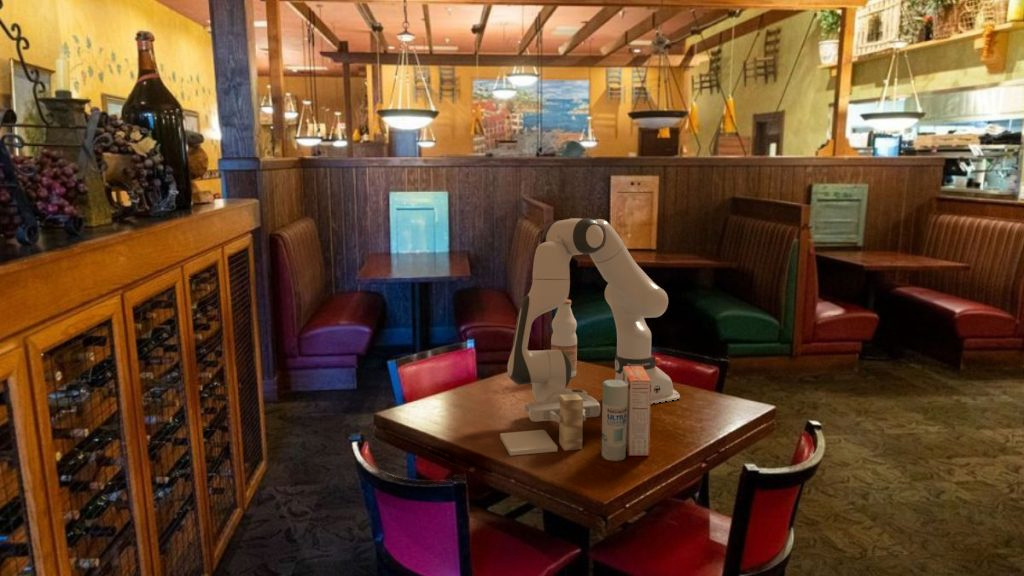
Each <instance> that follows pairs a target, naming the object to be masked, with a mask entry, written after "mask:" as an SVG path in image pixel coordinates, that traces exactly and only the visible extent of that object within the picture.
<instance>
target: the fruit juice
mask: <svg viewBox="0 0 1024 576" xmlns="http://www.w3.org/2000/svg"><path fill="white" fill-rule="evenodd" d="M571 305H572V300H571V299H568V298H567V299H566V300H565V302H564V303H563V304H562V305H560V306H559V307H557V310H556V312H555V315H554V318H553V319H552V322H551V329H552V334H551V340H550V346H551V347H550V350H561V351H563V352H564V353H565V354H566V356H567V357H568V359H569V361H570V364H571V378H575V377H576V375H577V370H578V369H577V367H578V366H577V364H578V363H577V362H578V361H577V360H578V359H577V358H578V357H577V356H578V336H577V334H576V331H577V327H578V324H577V320H576V318H575V316H574V314H573V310H572V308H571ZM571 378H570V379H571Z"/></svg>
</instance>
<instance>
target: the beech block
mask: <svg viewBox="0 0 1024 576" xmlns="http://www.w3.org/2000/svg"><path fill="white" fill-rule="evenodd" d="M559 415H562V416H563V423H558V426H559V427H558V429H559V430H558V432H559V433H558V443H559V446H560V447H561V448H562V449H563V451H565V452H566V451H574V450H575V451H576V450H583V433H584V432H583V431H584V430H583V425H584V424H583V422H584V421H583V399H582V398H581V397H580V396H579V395H578V394H565V395H560V413H559Z"/></svg>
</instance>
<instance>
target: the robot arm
mask: <svg viewBox="0 0 1024 576" xmlns="http://www.w3.org/2000/svg"><path fill="white" fill-rule="evenodd" d="M540 243H541V244H539V245H538V246H537V248H536V249H535V253H534V257H533V258H534V259H533V267H532V284H531V287H530V290H529V292H528V293H527V295H526V296H524V297H523V298H522V299H521V301H520V304H519V308H518V312H517V317H516V323H515V329H514V335H513V340H512V346H511V350H510V355H509V358H508V361H507V375H508V377H509V379H510V380H511V381H512V382H513V383H515V384H516V385H518V386H524V385H525V386H526V385H530V384H532V385H531V391H532V396H533V397H534V400H533V401H530V402H528V403H527V405H526V404H525V405H524V406H523V409H524V411H526V412H528V417H529V419H530V421H531V422H547V421H548V422H549V421H553V422H556V423H557V424H559V423H563V416H562V415H559V413H560V395H565V394H578V395H579V396H580V397H581V398H582V399H583V422H585V421H586V419H587V418H598V417H599V416H600V415H601V403H599V401H598V400H597V399H596V398H594V397H593V396H591V395H588V392H587V391H586V390H583V389H582V390H581V389H571V388H568V386H569V383H570V381H571V364H570V361H569V359H568V357H567V356H566V354H565V353H564V352H563V351H561V350H551V349H545V350H529V349H528V347H529V339H530V337H531V335H530V333H531V329H532V325H533V323H534V321H535V320H536V319H537V318H538V317H539V316H542V315H544V314H546V313H548V312H550V311H552V310H555V309H558V307H559V306H560V305H562V304H563V303H564V302H565V300H566V299H568V297H569V294H570V287H571V286H570V285H571V279H570V278H571V276H570V275H571V274H570V272H571V269H570V262H571V260H572V257H573V256H576V255H578V256H579V255H589V257H590V259H591V261H592V262H593V263H594V265H595V267H596V268H597V270H598V272H599V273H600V275H601V277H602V278H603V280H604V281H605V282H606V283H607V284H606V287H605V289H604V299H605V301H606V303H607V305H609V307H610V309H611V312H612V315H613V319H614V324H615V329H616V339H617V340H616V354H615V359H614V370H615V377H614V380H622V381H623V366H643V368H644V370H645V372H646V373H647V375H648V377H649V379H650V381H651V402H650V405H654V404H653V403H655V404H660V403H659V402H661V403H666V402H665V401H667V402H673V401H672V400H674V401H678V400H677V399H679V398H680V399H681V395H680V393H679V392H678V391H677V390H676V389H674V385H673V382H672V381H673V380H672V379H671V377H670V376H669V375H668V374H666V373H665V372H664V371H663V370H662V369H660V368H659V367H657V366H656V365H658V366H659V365H661V364H662V359H661V358H660V357H655V356H654V355H652V331H651V330H650V328H649V326H648V325H647V323H646V320H645V319H647V318H648V319H649V318H650V319H651V318H658V317H661V316H662V315H663V314H664V313H665V312H666V311H667V309H668V305H669V297H668V294H667V292H666V291H665V290H664V289H663V288H661V286H659V285H657V283H655V282H654V281H653V279H651V278H650V277H649V276H648V275H647V273H645V271H644V270H643V269H642V268H641V267H640V265H638V264H637V262H636V261H635V260H634V258H633V257H632V255H631V253H630V252H629V250H628V248H627V247H626V245H625V243H624V241H623V240H622V239H621V237H620V235H619V234H618V233H617V231H616V230H615V228H614V227H613V226H612V225H611V224H610V223H609V222H608V221H607V220H605V219H601V218H598V219H593V218H587V217H586V218H581V217H580V218H577V217H576V218H575V217H573V218H571V217H570V218H569V219H568V218H567V219H563V220H562V219H561V220H554V221H552V222H550V223H548V224H547V225H546V226H545V228H544V230H543V232H542V236H541V242H540ZM680 399H679V400H680Z"/></svg>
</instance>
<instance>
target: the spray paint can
mask: <svg viewBox="0 0 1024 576" xmlns="http://www.w3.org/2000/svg"><path fill="white" fill-rule="evenodd" d="M627 400H628V383H627V382H625V381H622V380H615V379H607V380H604V381H603V382H602V400H601V401H602V403H601V404H602V405H601V406H602V410H601V411H602V412H601V457H602V458H603V459H604V460H607V461H613V462H619V461H622V460H625V459H626V456H627V455H626V454H627V453H626V452H627V449H626V428H627Z"/></svg>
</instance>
